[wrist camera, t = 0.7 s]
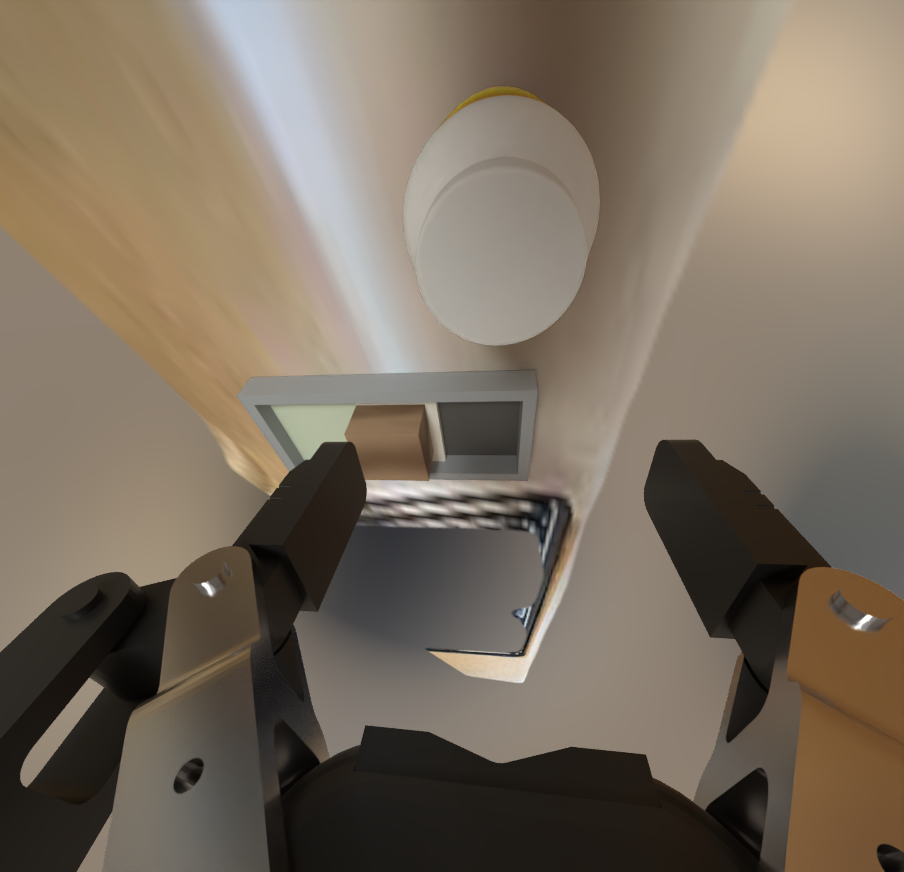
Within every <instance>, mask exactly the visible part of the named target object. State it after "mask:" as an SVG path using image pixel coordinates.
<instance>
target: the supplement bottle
mask: <svg viewBox="0 0 904 872" xmlns="http://www.w3.org/2000/svg"><path fill="white" fill-rule="evenodd" d="M599 213H600V191H599V181H598V175H597V171H596V167H595V164H594V161H593V158H592V155H591V153H590V151H589V149H588V147H587V145H586V143H585V141H584V140H583V138H582V137H581V135H580V134H579V132H578V131H577V130H576V128H575V127H574V126H573V125H572V124H571V123H570V122H569V121H568V120H567V119H566V118H565V117H564V116H562V115H561V114H560V113H559V112H558V111H556V110H555V109H553V108H552V107H550V106H549V105H547V104H546V103H545V102H543V101H542V100H540V99H539V98H538V97H536V96H535V95H533V94H532V93H530V92H528V91H526V90H523V89H521V88H517V87H513V86H494V87H489V88H485V89H483V90H481V91H478V92H477V93H475V94H473V95H471V96H470V97H468V98H467V99H466V100H464V101H463V102H462V103H461V104H460V105H459V106H458V107H456V108H455V110H454V111H453V112H452V113H451V114H450V115H449V116H448V117H447V118H446V120H445V121H444V122H443V123H442V124H441V125H440V126H439V128H438V129H437V130H436V131H435V132H434V133H433V135H432V136H431V137H430V139H429V140H428V142H427V143H426V144H425V146H424V148H423V149H422V151H421V153H420V155H419V156H418V158H417V160H416V162H415V164H414V167H413V169H412V172H411V175H410V178H409V181H408V184H407V188H406V193H405V199H404V209H403V227H404V236H405V242H406V246H407V250H408V254H409V257H410V260H411V263H412V265H413V267H414V269H415V271H416V276H417V281H418V286H419V289H420V292H421V295H422V297H423V300H424V302H425V304H426V305H427V307H428V309H429V310H430V312H431V313H432V314H433V316H434V317H435V318H436V319H437V320H438V321H439V323H440V324H441V325H442V326H444V327H445V328H446V329H447V330H449V331H451V332H452V333H453V334H455V335H456V336H458V337H460V338H462V339H465V340H467V341H470V342H473V343H476V344H482V345H490V346H502V345H510V344H515V343H519V342H522V341H525V340H528V339H530V338H532V337H534V336H536V335H538V334H540V333H541V332H543V331H544V330H546V329H547V328H549V327H550V326H551V325H553V324H554V323H555V322H556V321H557V320H558V319H559V318H560V317H561V316H562V315H563V314H564V312H565V311H566V310H567V309H568V307H569V306H570V305H571V303H572V301H573V300H574V298H575V296H576V294H577V293H578V290H579V288H580V286H581V283H582V280H583V277H584V274H585V269H586V263H587V257H588V255H589V252H590V250H591V247H592V244H593V242H594V239H595V235H596V231H597V227H598V220H599Z"/></svg>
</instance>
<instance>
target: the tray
mask: <svg viewBox="0 0 904 872" xmlns="http://www.w3.org/2000/svg"><path fill="white" fill-rule="evenodd" d="M537 394H538V387H537V380H536V373H535V370H515V371H476V372H437V373H398V374H359V375H320V376H281V377H251V378H250V380H249V381H248V382H247V383H246V385H245V386H244V387H243V388H242V390H241V391H240V392H239V393H238V395H237V397H238V399H239V400H240V402H241V403H242V404H243V406H244V407H245V409H246V410H247V412H248V413H249V414H250V416H251V417H252V419H253V420H254V422H255V423H256V424H257V426H258V427H259V429H260V430H261V432H262V433H263V435H264V436H265V437H266V439H267V440H268V442H269V443H270V445H271V446H272V447H273V449H274V450H275V452H276V453H277V455H278V456H279V457H280V459H281V460H282V462H283V463H284V465H285V466H286V467H287V469H288V470H289V472H290V471H291V470H292V469H294V468H295V467H296V466H298V465H299V464H300V463H302V462H303V461H305V460H310V459H311V458H312V456H313V455H314V454H315V452H316V451H317V449H318V448H319V447H320V445H321V444H322V443H323V442H347V440H346V437H345V435H344V434H345V431H346V429H347V426H348V424H349V422H350V419H351V417H352V414H353V412H354V410H355V407H356V405H416V404H424V405H425V410H426V415H427V420H428V425H429V430H430V435H431V440H432V445H433V450H434V453H433V459H432V465H431V471H430V478H429V479H445V480H519V481H528V475H529V466H530V457H531V448H532V439H533V430H534V421H535V412H536V403H537Z"/></svg>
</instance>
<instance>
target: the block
mask: <svg viewBox="0 0 904 872" xmlns="http://www.w3.org/2000/svg"><path fill="white" fill-rule="evenodd" d="M344 435H345V437H346V440H347V442H352V443H353V444H354V445H355V447H356V451H357V454H358V458H359V461H360V464H361V468H362V471H363V475H364V478H365V480H416V481H429V478H430V471H431V465H432V459H433V453H434V450H433V445H432V440H431V435H430V430H429V425H428V420H427V415H426V410H425V405H424V404H416V405H356V407H355V410H354V412H353V414H352V417H351V419H350V422H349V424H348V426H347V429H346V431H345V434H344Z"/></svg>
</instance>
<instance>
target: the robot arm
mask: <svg viewBox="0 0 904 872" xmlns="http://www.w3.org/2000/svg"><path fill="white" fill-rule="evenodd" d="M366 494H367V488H366V482H365V478H364V475H363V471H362V468H361V464H360V461H359V458H358V454H357V451H356V447H355V445H354V444H353V443H352V442H323V443H322V444H321V445H320V447H319V448H318V449H317V451H316V452H315V454H314V455H313V456H312V458H311V459H310V460H305V461H303V462H302V463H300V464H299V465H298V466H296V467H295V468H294V469H292V470H291V471H290V472H289V473H288V474H287V476H286V477H285V478H284V479H283V481H282V482H281V483H280V485H279V488H277V489H276V490H275V491H274V492H273V494H272V495H271V496H270V500H267V501H266V503H265V504H264V505H263V507H262V508H261V509H260V511H259V512H258V513H257V515H256V516H255V517H254V518H253V520H252V521H251V522H250V524H249V525H248V526H247V527H246V529H245V530H244V531H243V533H242V534H241V535H240V536H239V538H238V539H237V540H236V542H235V543H234V544H233V546H229V547H223V548H219V549H217V550H214V551H211V552H209V553H207V554H205V555H203V556H201V557H200V558H198V559H197V560H195V561H194V562H192V563H191V564H190V565H189V566H188V567H186V568H185V569H184V571H183V572H182V573H181V574H180V575H179V576H178V577H177V578H175V579H171V580H167V581H163V582H158V583H154V584H150V585H146V586H142V587H139V586H138V585H137V584H136V583H135V582H134V581H133V580H132V579H131V578H130V577H129V576H128V575H126V574H124V573H122V572H113V573H112V572H111V573H106V574H102V575H99V576H96V577H94V578H91V579H89V580H87V581H85V582H83V583H81V584H79V585H77V586H75V587H74V588H72V589H71V590H69V591H68V592H66V593H65V594H64V595H62V596H61V597H59V598H58V599H57V600H56V601H55V602H53V603H52V604H51V605H50V606H49V607H48V608H47V609H46V610H45V611H44V612H43V613H41V614H40V615H39V616H38V617H37V618H36V619H35V620H34V621H33V622H32V623H31V624H30V625H29V626H28V627H27V628H26V629H25V630H24V631H22V633H20V634H19V635H18V636H17V637H16V638H15V639H14V640H13V641H12V642H11V643H10V644H9V645H8V646H7V647H6V648H4V649H3V650H2V651H1V652H0V872H77V870H78V868H79V867H80V865H81V863H82V861H83V860H84V858H85V856H86V855H87V853H88V851H89V850H90V848H91V846H92V845H93V843H94V841H95V840H96V838H97V836H98V834H99V833H100V831H101V829H102V828H103V826H104V824H105V823H106V821H107V819H108V817H109V816H110V814H111V813H112V817H111V823H110V828H109V834H108V840H107V847H106V852H105V858H104V864H103V870H102V872H904V601H903V600H902V599H901V598H899V597H898V596H897V595H895V594H894V593H892V592H891V591H889V590H887V589H886V588H884V587H883V586H881V585H879V584H877V583H875V582H873V581H871V580H869V579H867V578H865V577H862V576H860V575H857V574H854V573H851V572H848V571H845V570H840V569H836V568H832V567H831V566H830V565H829V564H828V563H827V562H826V561H825V560H824V558H822V556H821V555H819V553H818V552H817V551H816V550H815V549H814V548H813V547H812V546H811V545H810V544H809V542H808V541H807V540H806V539H805V538H804V537H803V536H802V535H801V534H800V533H799V532H798V531H797V529H796V528H795V527H794V526H793V525H792V524H791V523H790V522H789V521H788V520H787V519H786V518H785V517H784V516H783V515H782V513H781V512H780V511H779V510H778V509H774V505H773V504H772V503H771V502H770V501H769V500H768V498H767V497H766V496H765V495H761V493H760V490H759V489H758V488H757V487H756V486H755V484H753V482H752V481H751V480H750V479H749V478H748V477H747V476H746V475H745V474H744V473H742V472H740V471H739V470H737V469H736V468H734V467H733V466H731V465H729V464H728V463H726V462H724V461H723V460H716V459H715V458H714V457H713V456H712V454H711V453H710V452H709V451H708V450H707V449H706V448H705V446H704V445H703V444H702V443H701V442H700V441H698V440H662V441H660V442H659V443H658V445H657V448H656V451H655V454H654V457H653V461H652V464H651V467H650V470H649V474H648V477H647V480H646V484H645V488H644V501H645V506H646V509H647V511H648V514H649V516H650V518H651V520H652V522H653V524H654V526H655V528H656V530H657V532H658V534H659V536H660V538H661V540H662V541H663V543H664V546H665V548H666V549H667V552H668V554H669V556H670V557H671V560H672V562H673V564H674V566H675V568H676V569H677V572H678V574H679V576H680V578H681V580H682V582H683V584H684V586H685V588H686V590H687V592H688V594H689V596H690V598H691V600H692V602H693V604H694V606H695V608H696V610H697V612H698V614H699V616H700V618H701V620H702V622H703V624H704V626H705V628H706V630H707V632H708V634H709V636H710V637H713V638H714V637H715V638H730V639H736V641H737V643H738V645H739V646H740V648H741V650H742V652H741V654H740V655H739V656H738V658H737V660H736V664H735V668H734V672H733V676H732V680H731V684H730V688H729V693H728V697H727V701H726V705H725V709H724V713H723V717H722V721H721V725H720V729H719V733H718V738H717V741H716V745H715V748H714V751H713V753H712V756H711V758H710V760H709V762H708V763H707V765H706V767H705V769H704V771H703V774H702V776H701V779H700V781H699V784H698V787H697V790H696V793H695V796H694V800H693V801H691V800H690V799H688V798H687V797H685V796H684V795H683V794H681V793H680V792H678V791H676V790H675V789H673V788H671V787H670V786H668V785H666V784H664V783H663V782H661V781H659V780H657V779H654V778H652V775H651V771H650V767H649V764H648V760H647V757H646V755H644V754H635V753H625V752H616V751H606V750H596V749H587V748H577V747H569V748H565V749H561V750H557V751H553V752H548V753H544V754H540V755H536V756H532V757H528V758H524V759H520V760H516V761H512V762H508V763H495V762H492V761H489V760H487V759H485V758H483V757H481V756H479V755H477V754H474V753H473V752H470V751H468V750H466V749H464V748H462V747H460V746H458V745H455V744H453V743H451V742H449V741H447V740H445V739H443V738H440V737H438V736H436V735H434V734H432V733H430V732H423V731H413V730H404V729H395V728H385V727H375V726H365V729H364V733H363V737H362V741H361V745H359V746H355V747H352V748H350V749H347V750H345V751H342V752H340V753H338V754H336V755H334V756H333V757H331V758H330V757H329V752H328V748H327V745H326V741H325V738H324V735H323V732H322V730H321V727H320V725H319V722H318V720H317V718H316V715H315V712H314V709H313V706H312V702H311V697H310V693H309V688H308V684H307V679H306V674H305V669H304V665H303V660H302V656H301V651H300V646H299V642H298V637H297V632H296V629H295V626H294V625H293V623H294V621H295V619H296V617H297V615H298V613H299V611H315V612H317V611H318V610H319V608H320V605H321V603H322V601H323V598H324V596H325V594H326V592H327V589H328V587H329V585H330V582H331V580H332V578H333V575H334V573H335V571H336V569H337V566H338V564H339V562H340V559H341V557H342V555H343V553H344V550H345V548H346V546H347V543H348V541H349V539H350V537H351V534H352V532H353V530H354V527H355V525H356V523H357V521H358V518H359V516H360V514H361V511H362V509H363V507H364V504H365V501H366ZM89 677H90V678H91V679H93V680H94V681H96V682H97V683H99V684H100V685H101V686H103V687H104V689H103V690H102V691H101V693H100V694H99V695H98V697H97V698H96V699H95V701H94V702H93V703H92V705H91V706H90V707H89V708H88V710H87V711H86V712H85V714H84V715H83V717H82V718H81V719H80V720H79V722H78V723H77V724H76V725H75V727H74V728H73V729H72V731H71V732H70V733H69V735H68V736H67V737H66V739H65V740H64V741H63V743H62V744H61V745H60V747H59V748H58V749H57V750H56V752H55V753H54V754H53V756H52V757H51V758H50V760H49V761H48V762H47V764H46V765H45V766H44V768H43V769H42V770H41V771H40V773H39V774H38V775H37V777H36V778H35V779H34V780H33V782H32V783H31V784H30V785H29V786H28V787H27V788H26V787H25V786H23V785H22V783H21V781H20V772H21V768H22V765H23V762H24V760H25V758H26V757H27V755H28V753H29V752H30V750H31V749H32V747H33V746H34V745H35V744H36V742H37V741H38V740H39V739H40V737H41V736H42V735H43V734H44V733H45V731H46V730H47V729H48V728H49V726H50V725H51V724H52V723H53V721H54V720H55V719H56V718H57V716H58V715H59V714H60V713H61V711H62V710H63V709H64V708H65V707H66V705H67V704H68V703H69V702H70V700H71V699H72V698H73V697H74V696H75V694H76V693H77V692H78V691H79V689H80V688H81V687H82V686H83V684H84V683H85V682H86V681H87V679H88V678H89Z"/></svg>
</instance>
